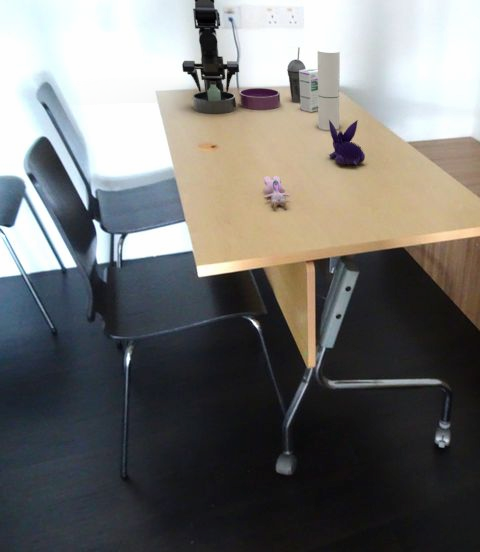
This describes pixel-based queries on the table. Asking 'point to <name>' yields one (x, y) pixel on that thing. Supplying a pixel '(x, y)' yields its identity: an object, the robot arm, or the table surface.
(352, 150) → the creature
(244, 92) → the plum bowl
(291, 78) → the beverage cup
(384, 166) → the table surface
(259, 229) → the table surface
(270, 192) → the rabbit figure
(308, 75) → the syrup box
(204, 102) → the charcoal bowl
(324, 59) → the cylindrical container
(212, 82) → the bottle
